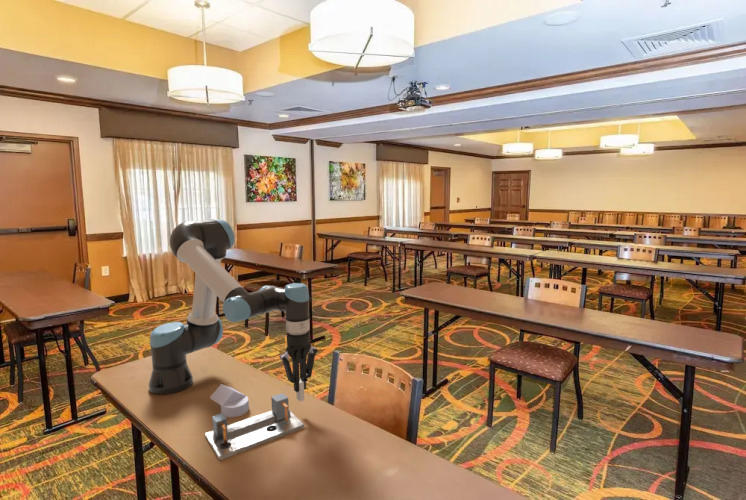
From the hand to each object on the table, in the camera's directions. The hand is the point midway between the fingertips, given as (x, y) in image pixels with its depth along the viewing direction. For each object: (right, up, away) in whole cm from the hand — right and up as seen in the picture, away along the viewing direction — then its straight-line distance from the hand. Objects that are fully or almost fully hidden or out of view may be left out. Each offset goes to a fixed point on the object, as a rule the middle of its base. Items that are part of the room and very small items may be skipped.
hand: (300, 399), depth 137 cm
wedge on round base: (-24, -5, +4) cm, 25 cm away
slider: (-5, -4, -5) cm, 8 cm away
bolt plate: (-12, -6, -10) cm, 17 cm away
